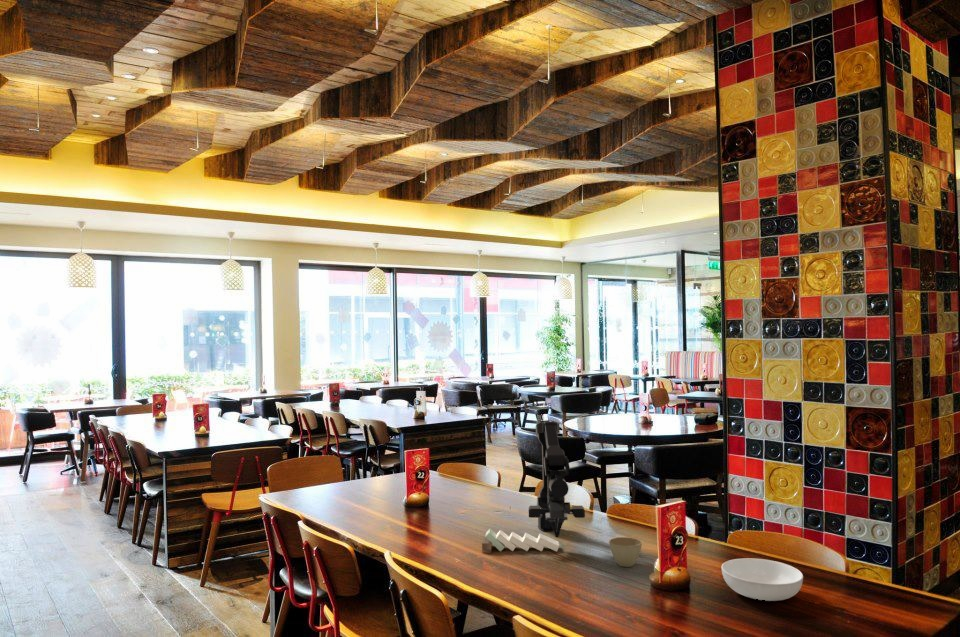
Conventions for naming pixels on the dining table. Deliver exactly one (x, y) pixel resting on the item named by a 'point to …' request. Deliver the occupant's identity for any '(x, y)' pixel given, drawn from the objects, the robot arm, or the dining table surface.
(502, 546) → the domino sage
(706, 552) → the dining table surface
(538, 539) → the domino
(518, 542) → the domino
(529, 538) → the domino
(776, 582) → the serving bowl
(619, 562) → the flower pot
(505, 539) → the domino
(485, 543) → the end block
